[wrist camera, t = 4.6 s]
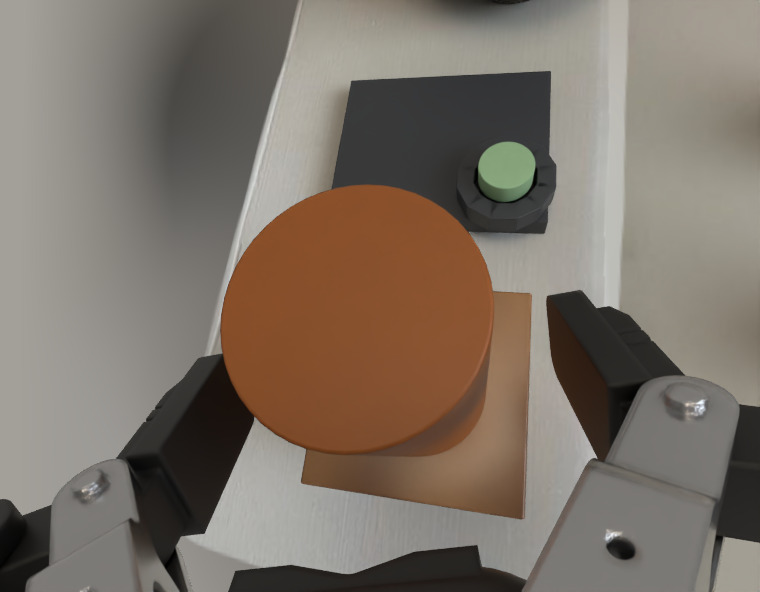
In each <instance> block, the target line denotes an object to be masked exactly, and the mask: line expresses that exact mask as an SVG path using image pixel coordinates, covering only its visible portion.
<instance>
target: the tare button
mask: <svg viewBox="0 0 760 592" xmlns="http://www.w3.org/2000/svg"><path fill="white" fill-rule="evenodd" d="M534 171H535V159H534V156H533V154H532V153H531V151H530V150H529V149H528V148H526V147H525V146H523V145H522V144H519V143H516V142H501V143H497V144H495V145H493V146H491V147H489V148H488V149H487V150H486V151H485V152H484V153H483V154H482V156H481V158H480V160H479V164H478V183H479V187H480V189H481V191H482V192H483V193H484V194H485V195H486V196H487V197H488V198H490V199H492V200H494V201H498V202H511V201H514V200H517V199H519V198H521V197H522V196H524V195H525V194H526V193H527V192H528V191H529V189H530V187H531V185H532V181H533V176H534Z"/></svg>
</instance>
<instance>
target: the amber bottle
mask: <svg viewBox="0 0 760 592" xmlns="http://www.w3.org/2000/svg"><path fill="white" fill-rule="evenodd" d="M493 323H494V296H493V290H492V283H491V279H490V275H489V272H488V269H487V265H486V263H485V260H484V258H483V256H482V254H481V252H480V250H479V248H478V246H477V245H476V243H475V242H474V240H473V239H472V237H471V236H470V234H469V233H468V232H467V230H466V229H465V228H464V227H463V226H462V225H461V224H460V223H459V221H458V220H456V219H455V218H454V217H453V216H452V215H451V214H449V213H448V212H447V211H446V210H445V209H443V208H442V207H440V206H438V205H437V204H435V203H434V202H432V201H431V200H429V199H426V198H424V197H422V196H420V195H418V194H416V193H413V192H410V191H406V190H403V189H400V188H395V187H390V186H384V185H352V186H346V187H340V188H335V189H331V190H328V191H325V192H321V193H319V194H316V195H314V196H311V197H309V198H306V199H304V200H303V201H301V202H299V203H297V204H295V205H293V206H292V207H290V208H289V209H287V210H286V211H284V212H283V213H281V214H280V215H279V216H277V217H276V218H275V219H274V220H273V221H272V222H270V223H269V224H268V225H267V226H266V227H265V228H264V229H263V230H262V231H261V232H260V233H259V234H258V235H257V236H256V238H255V239H254V240H253V241H252V243H251V244H250V245H249V247H248V248H247V249H246V251H245V252H244V254H243V255H242V257H241V259H240V260H239V262H238V264H237V266H236V268H235V270H234V272H233V274H232V277H231V279H230V281H229V284H228V287H227V291H226V294H225V297H224V302H223V308H222V313H221V329H220V332H221V346H222V352H223V357H224V362H225V366H226V368H227V371H228V374H229V377H230V380H231V382H232V384H233V386H234V388H235V390H236V392H237V394H238V396H239V397H240V399H241V400H242V402H243V403H244V404H245V406H246V407H247V409H248V410H249V411H250V412H251V413H252V414H253V415H254V416H255V417H256V418H257V420H258V421H259V422H260V423H261V424H263V425H264V426H265V427H267V428H268V429H269V430H270V431H272V432H273V433H274V434H276V435H278V436H279V437H281V438H283V439H285V440H286V441H288V442H290V443H292V444H295V445H297V446H300V447H303V448H305V449H308V450H312V451H316V452H321V453H325V454H335V455H357V456H409V457H422V456H431V455H436V454H439V453H442V452H445V451H447V450H449V449H451V448H453V447H455V446H456V445H457V444H459V443H460V442H462V441H463V440H464V439H465V438H466V437H467V436H468V435H469V434H470V432H471V431H472V430H473V429H474V427H475V425H476V424H477V422H478V420H479V418H480V416H481V413H482V411H483V407H484V403H485V396H486V387H487V378H488V369H489V360H490V350H491V341H492V332H493Z"/></svg>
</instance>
